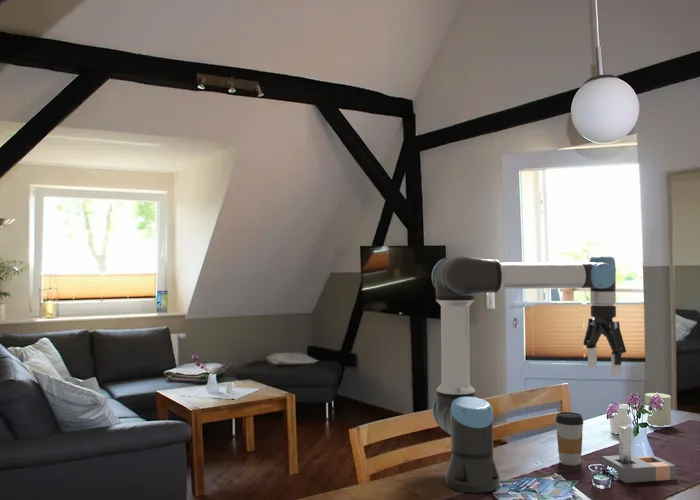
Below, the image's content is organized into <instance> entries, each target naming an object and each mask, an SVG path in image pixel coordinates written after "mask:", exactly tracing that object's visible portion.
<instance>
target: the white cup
mask: <svg viewBox="0 0 700 500" xmlns="http://www.w3.org/2000/svg"><path fill="white" fill-rule="evenodd" d="M612 404H613V403H611V404H608V407H609V406H611V405H612ZM618 404H619V411H618V415H617V414H615V415H614V418H613V419H610V418H609V425H610V433H611V432H613V433H617V434H619V427H620V426H627V425H628V424H631V425H632V423H633V422H632V421H631V419H630V418H629V417H628V416H627V409H628V408H629V405H630V404H625V403H618Z"/></svg>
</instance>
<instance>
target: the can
mask: <svg viewBox="0 0 700 500" xmlns="http://www.w3.org/2000/svg"><path fill="white" fill-rule="evenodd" d="M656 394H658V395H659V396H660V397H661V398H662V399H664V401H665V402H664V404H663V409H662V410H661V411H657V410H655V409H653V410H652V413H653V415H652V416H648V423H649V424H651V425H657V426H664V425H670V424H671V425H672V396H671V395H670V394H666V393H660V392H648V393H645V394H644V399H645V400H644V401H645V403H644V404H649V403H650V401H651V399H652V398H653V396H654V395H656Z"/></svg>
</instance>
